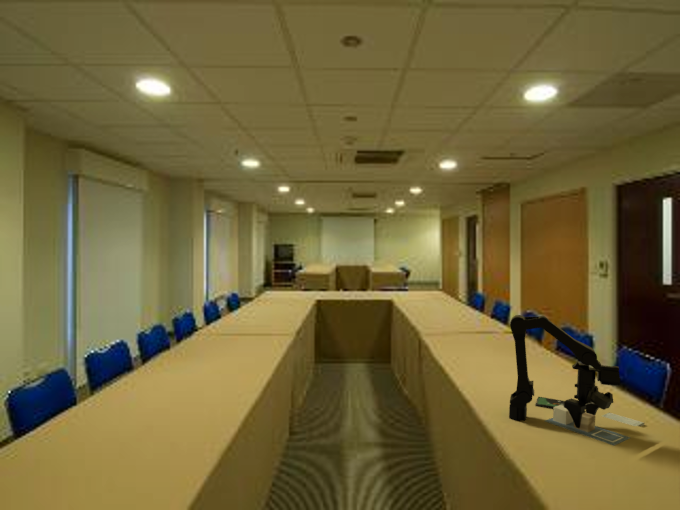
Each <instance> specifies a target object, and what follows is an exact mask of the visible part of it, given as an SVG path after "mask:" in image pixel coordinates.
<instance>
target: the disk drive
mask: <svg viewBox="0 0 680 510" xmlns="http://www.w3.org/2000/svg"><path fill="white" fill-rule="evenodd" d="M564 401H565V400H561V399H555V398H549V397H544V396H543V397H542V396H537V399H536V402H535V404H534V406H535V407H539V408H544V409H550V410H553V407H556V406H559V405H563V406H564Z"/></svg>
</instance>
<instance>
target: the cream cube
mask: <svg viewBox="0 0 680 510" xmlns="http://www.w3.org/2000/svg"><path fill="white" fill-rule="evenodd" d="M552 410H553V413H552V418H553V421H556V422H559V423H562V424H565V425H567V424H569V423H572V422H573V419H572V417H571V415H570V413H569V411H568V410H567V409H566V408H564V406H563V405H559V406H556V407H553V409H552Z"/></svg>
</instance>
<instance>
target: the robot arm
mask: <svg viewBox="0 0 680 510" xmlns="http://www.w3.org/2000/svg"><path fill="white" fill-rule="evenodd" d="M509 327H510V330H511V334H512V337H513V340H514V341H513V342H514V347H515V348H514V349H515V359H516V372H517V382H516V390H515V391H514V392H513V393H511V394H510V397H509V408H508V409H509V410H508V411H509V413H508V418H509V419H510V420H512V421H515V422H524V421H526V420H527V417H528V416H527V413H528V412H527V411H528V404H530V403H531V402H532V401H533V397H535V388H534V380H530V377H529V372H528V361H527V348H526V347H527V345H526V334H527V333H526V332H527V330H534V329H543V331H545V332H547V333H548V334H549V335H550V336H552V337H553V338H554V339H556V340H557V341H558V342H560V343H561V344H562V345H564V346H565V347H567V349H569V350H570V352H571V353H572V354H573V355H574V356H575V358H576V359H578V360H579V362H578V361H576V362H575V363H574V364H572V365H571V368H572V370H577V376H576V377H577V382H576V383H574V388H576V394H574V396H573V398H568V399H566V400H563V401H564V408H566V409H567V410H568V411H569V413H570V415H571V417H572V419H573V421H574V423H575V426H576V427H577V428H580V425H581V419H582V414H584V413H585V412H586V413H589V414H592V415H595V416H596V414H597V412H598V410H599V409H601V410H602V411H603V410H606V409H609V408H610V407H611V406H612V404H613V403H614V396H613V393H612V392H610V391H607V392H605V393H604V392H601V391H599V387H598V386H597V385H596V380H597V382H599V383H600V385H603V386H612V387H620V386H621V377H620V376H621V375H620V367H619V365H618V366H616V365H611V366H610V365H603V364H602V362H601V361H599V360H598V355H597V353H596V350H595V349H594V348H593V347H591V346H589V345H588V344H586V343H584V342H581V341H579V340H577V339H575V338H574V337H572V336H571V335H569V334H568V333H567V332H566V331H564V330H563V329H562V328H560V327H559V326H557V324H555V323H553V321H551V320H550V319H549V318H548V317H547V316H544V315H539V316H524V315H522V314H516V315H513V317H512V318H511V320H510V323H509ZM580 362H581V364H580ZM590 366H591V367H590Z"/></svg>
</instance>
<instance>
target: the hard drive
mask: <svg viewBox="0 0 680 510" xmlns="http://www.w3.org/2000/svg"><path fill="white" fill-rule="evenodd" d="M601 417H603V418H606V419H609V420H612V421H615V422H619V423H622V424H626V425H629V426H633V427H643V426H645V422H643V421H640V420H636V419H633V418H631V417H630V418H629V417H626V416H624V415H619V414H616V413H612V412H607V413H604V414H603V415H601Z"/></svg>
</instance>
